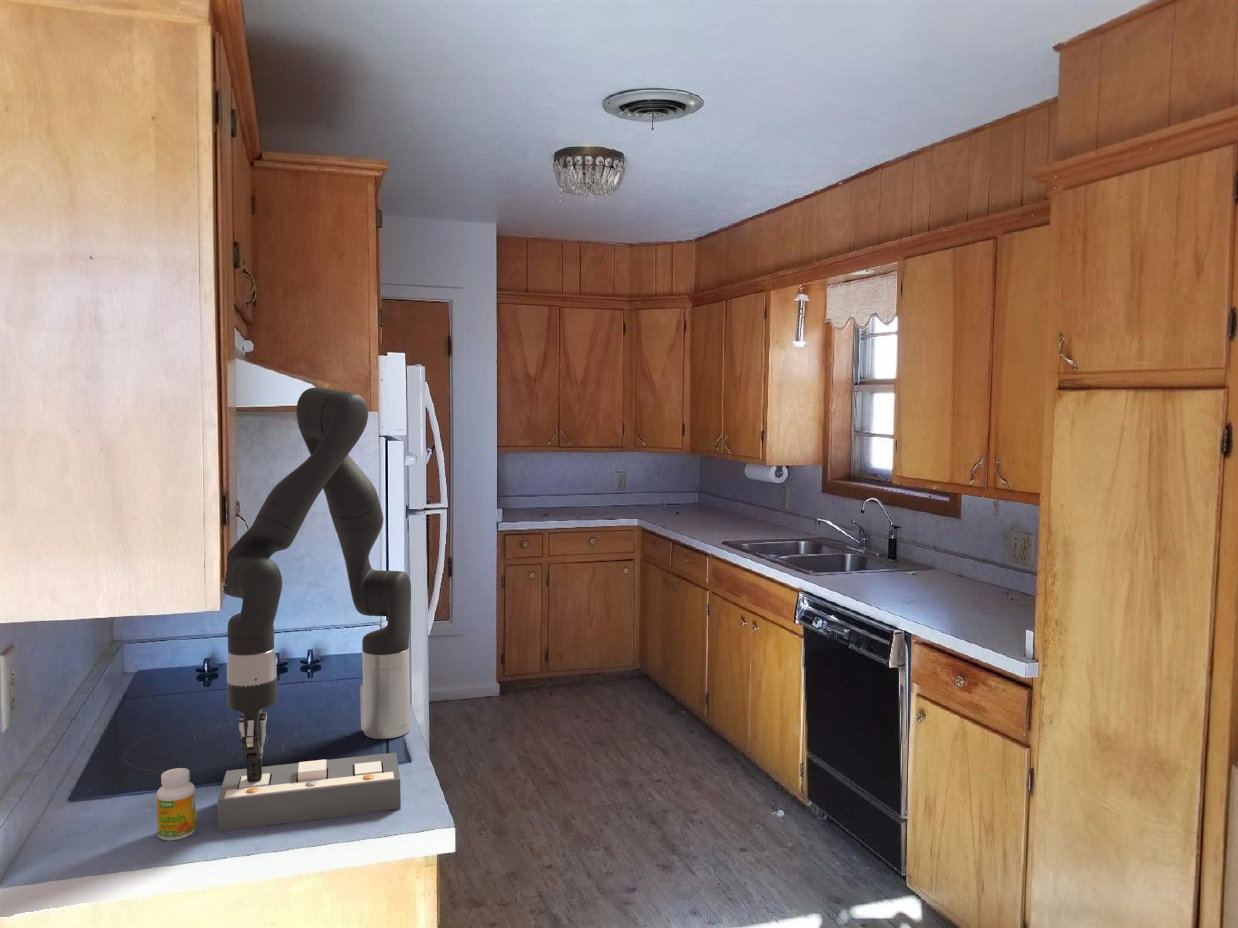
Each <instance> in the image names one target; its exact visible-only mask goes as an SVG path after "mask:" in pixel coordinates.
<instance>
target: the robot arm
mask: <svg viewBox="0 0 1238 928" xmlns="http://www.w3.org/2000/svg"><path fill="white" fill-rule="evenodd" d="M368 419H369V408H368V405H367V403H366V401H365V398H363V397H362V396H361V395H359V394H357V393H354V392H349V391H345V390H338V389H332V388H325V387H311V388H308V389H305V390H304V391H302V393H301V394H300V396H299V397H298V400H297V403H296V422H297V425H298V429H299V431H300V433H301V436H302V439H303V441H304V443H305V445H306V448H307V449H308V452H309V454H310V456H309V457H308V458H307V459H306V460H305V461H303V463H301V464H300V465H299V466H298V467H296V468H295V469H294V470H293V471H291V472H289V474H287V475H286V476H285V477H284V478H282V479H281V480H280V481H279V482H278V483H277V484H276V485H275V486H274V487H273V488H272V490H271V491H270V493H269V494H268V495H267V497H266V499H265V500H264V502H263V504H262V506H261V508H260V510H259V511H258V513H257V515H256V517H255V518H254V521H253V522H252V525H251V526H250V528H248V529H247V530H246V532H244V534H243V535H241V537H239V539H238V540H237V541H236V542H235V544H234V545H233V546H232V547H231V548H230V550H229V551H228V552H227V553H228V557H227V571H226V578H225V585H227V586H225V585H224V586H223V587H224V588H223V589H224V591H223V593H224V594H225V595H227V596H228V597H231V598H238V599H241V600H242V603H241V605H242V606H241V610H240V612H238V613H236V614H234V615H232V616H231V617H230V619H229V620H228V622H227V660H226V661H227V662H226V684H227V685H226V687H227V688H226V689H227V694H226V695H227V707H228V708H229V709H230V710H232V711H235V712H241V713H242V714H241V715H240V719H239V720H238V721H239V722H238V729H239V730H238V731H239V732H240V743H241V749H242V757H243V761H244V762H246V769H247V781H248V782H256V781H260V780H261V778H262V767H263V762H262V761H263V760H262V759H263V754H264V749H263V748H264V746H265V740H266V726H267V725H266V724H267V721H268V715H267V714H268V713H267V712H263V709H269V708H270V707H273V706H274V705H275V704H276V703H277V701H278V683H277V682H278V681H277V680H278V679H277V678H278V677H277V675H278V674H277V658H276V650H275V632H274V631H275V628H274V623H275V619H276V615H277V613H278V607H279V603H280V598H281V595H282V590H283V588H282V587H283V578H282V577H283V576H282V572H281V570H280V567H279V566H278V564H277V563H276V562H275V561H274V560H272V559H270V558H271V557H272V555H274V554H275V553H277V552H281V551H285V550H287V549H289V548H290V547H291V545H292V544H293V542H294V541H295V539H296V536H297V534H298V533H299V531H300V529H301V527H302V526H303V523H304V521H305V520H306V517H307V515H308V513H309V512H310V510H311V507H312V506H313V504H314V503H315V502H316V499H317V498H318V496H319V494H321V491H322V490H323V493H324V495H325V498H326V499H325V500H326V502H327V506H328V507H327V508H328V511H329V514H330V517H331V520H332V523H333V526H334V529H335V532H336V534H337V538H338V542H339V545H340V547H341V551H342V555H343V558H344V559H343V560H344V562H345V563H344V564H345V569H346V572H347V578H348V579H347V580H348V584H349V588H350V594H351V598H352V602H353V605H354V607H355V609H356V611H357V612H358V613H359V614H361V615H362V616H368V617H387V625H385V626H384V627H383V628H379V629H377V630H373V631H371V632H369V633H366V634H365V635H364V636H363V637H362V641H361V645H362V646H361V647H362V648H361V651H362V652H361V653H362V658H361V660H362V684H360V688H359V691H360V693H359V694H360V730H361V731H363V734H364V736H366V737H367V738H370V739H376V740H388V739H394V738H399V737H401V736H404V735H406V734H408V733H409V732H410V730H411V705H410V703H411V701H410V700H411V696H410V695H411V694H410V691H411V690H410V688H411V687H410V632H411V604H412V583H411V579H410V577H409V575H408V573H407V572H405V571H400V570H380V569H379V570H378V569H377V570H376V569H375V570H374V569H373V568H372V566H371V563H370V557H369V556H370V554H371V550H372V549H373V546H374V544H375V543H376V541H377V540H378V537H379V535H380V533H381V531H382V528H383V525H384V514H383V511H382V510H383V509H382V506H381V502H380V499H379V495H378V492H377V489H376V487H375V486H374V484H373V483H372V481H371V479H370V478H369V477H368V476H367V474H365V473H364V471H363V470H362V469H361V468H360V467H359V465H358V464H357V463H356V461H354V460H353V458H352V457H351V456H350V453H351V452H352V450H353V448H354V447H355V445H357V443H358V441H359V440H360V438H361V436H362V435H363V434H364V432H365V429H366V427H367V425H368Z"/></svg>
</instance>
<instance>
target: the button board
mask: <svg viewBox="0 0 1238 928" xmlns="http://www.w3.org/2000/svg"><path fill="white" fill-rule="evenodd" d="M397 756H398V755H397V752H388V753H380V754H378V753H377V754H371V755H362V756H361V755H360V756H359V755H358V756H352V757H343V758H333V759H326V769H327V778H326V779H323V780H314V781H305V782H298V766H299V762H295V763H287V764H278V765H269V766H262V774H267V773H270V786H261V787H252V788H243V789H239V785H240V781H241V777H242V776H247V768H240V769H231V770H226V772H225V774H224V778H223V781H222V784H221V787H220V790H219V794H218V796H217V797H218V798H217V800H216V802H217V803H216V804H217V805H216V806H217V832H218V833H219V832H225V831H226V832H227V831H233V830H240V829H250V828H256V827H257V828H259V827H264V826H265V827H266V826H273V825H281V823H283V824H289V823H297V822H304V821H305V822H306V821H307V822H308V821H313V819H315V820H321V819H322V818H323V819H330V818H336V817H337V818H338V817H345V815H347V816H353V814H354V815H355V816H356V815H360V813H363V814H368V813H369V814H370V813H377V812H384V811H391V810H390V809H394V810H401V809H402V808H401V806H402V803H401V798H402V797H401V796H402V795H401V794H402V793H401V776H400V770H399V762H398V757H397ZM377 761H381V766H382V773H376V774H367V775H358V776H355V764H359V763H368V762H377Z"/></svg>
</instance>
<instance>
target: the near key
mask: <svg viewBox="0 0 1238 928" xmlns="http://www.w3.org/2000/svg"><path fill="white" fill-rule="evenodd" d="M261 786H270V773H267V774H262V778H261V780H260V781H256V782H248V781H247V776H242V777H241V781H240V785H239V789H243V788H252V787H261Z"/></svg>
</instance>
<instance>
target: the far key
mask: <svg viewBox="0 0 1238 928" xmlns="http://www.w3.org/2000/svg"><path fill="white" fill-rule="evenodd" d="M376 773H382V766H381V761H377V762H368V763H359V764H355V776H358V775H367V774H376Z"/></svg>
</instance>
